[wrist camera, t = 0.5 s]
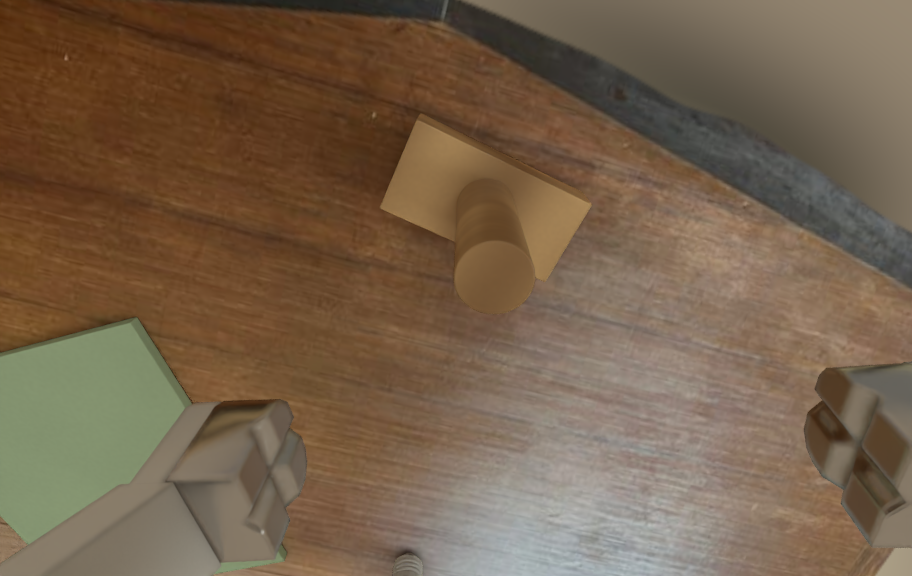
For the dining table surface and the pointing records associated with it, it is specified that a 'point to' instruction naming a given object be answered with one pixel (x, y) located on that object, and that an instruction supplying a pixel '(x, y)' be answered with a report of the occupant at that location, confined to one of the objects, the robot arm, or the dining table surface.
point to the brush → (484, 213)
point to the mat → (82, 423)
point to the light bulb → (408, 566)
